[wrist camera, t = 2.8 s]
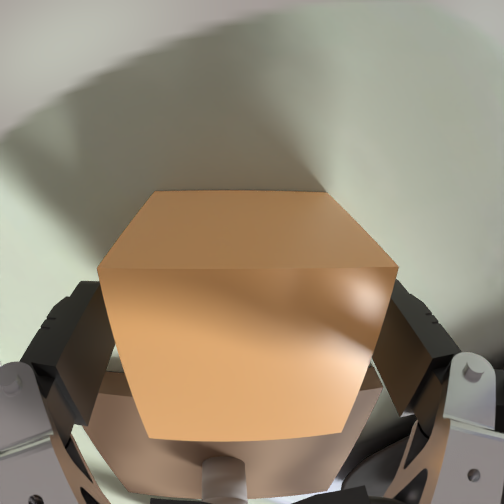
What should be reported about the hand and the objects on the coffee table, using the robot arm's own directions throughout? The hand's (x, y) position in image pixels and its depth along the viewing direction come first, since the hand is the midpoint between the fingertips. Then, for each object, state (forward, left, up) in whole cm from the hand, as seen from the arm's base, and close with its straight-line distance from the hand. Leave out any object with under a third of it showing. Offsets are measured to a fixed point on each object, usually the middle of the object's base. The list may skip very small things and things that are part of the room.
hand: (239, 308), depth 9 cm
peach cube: (0, 0, -3) cm, 3 cm away
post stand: (+1, +13, -3) cm, 14 cm away
